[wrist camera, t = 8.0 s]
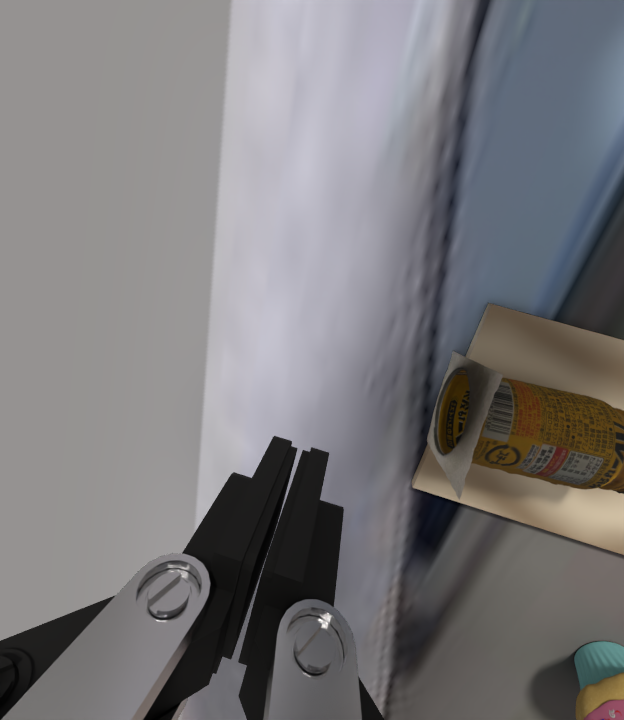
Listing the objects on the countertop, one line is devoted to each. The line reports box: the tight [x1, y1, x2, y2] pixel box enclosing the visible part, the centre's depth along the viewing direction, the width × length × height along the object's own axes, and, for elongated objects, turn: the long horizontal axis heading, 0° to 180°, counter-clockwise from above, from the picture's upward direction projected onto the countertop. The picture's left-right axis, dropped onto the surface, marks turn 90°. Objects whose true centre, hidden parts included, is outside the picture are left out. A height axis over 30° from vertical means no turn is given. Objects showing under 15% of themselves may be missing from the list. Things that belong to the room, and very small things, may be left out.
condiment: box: [427, 351, 624, 500], centre depth 21 cm, size 7×8×12 cm
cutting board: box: [412, 303, 624, 555], centre depth 25 cm, size 16×21×1 cm
